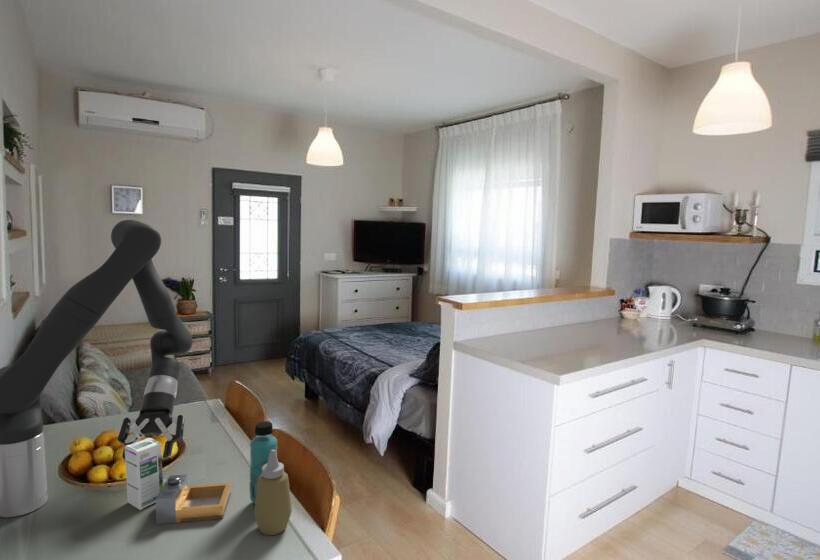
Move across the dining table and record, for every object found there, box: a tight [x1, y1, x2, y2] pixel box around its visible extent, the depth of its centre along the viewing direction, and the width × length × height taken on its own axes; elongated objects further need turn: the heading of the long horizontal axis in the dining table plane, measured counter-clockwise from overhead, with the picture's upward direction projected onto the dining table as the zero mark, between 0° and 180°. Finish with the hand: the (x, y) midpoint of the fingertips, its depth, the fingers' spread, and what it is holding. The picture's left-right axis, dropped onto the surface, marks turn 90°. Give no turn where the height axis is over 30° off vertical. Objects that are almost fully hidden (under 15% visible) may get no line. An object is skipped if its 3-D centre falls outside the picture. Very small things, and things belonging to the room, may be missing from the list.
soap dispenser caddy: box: [155, 473, 232, 525], centre depth 110 cm, size 14×10×7 cm
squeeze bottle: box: [253, 450, 293, 536], centre depth 104 cm, size 8×8×18 cm
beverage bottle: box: [249, 420, 278, 504], centre depth 113 cm, size 6×7×20 cm
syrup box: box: [124, 436, 164, 511], centre depth 112 cm, size 6×6×14 cm
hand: (146, 459), depth 113 cm, fingers open, 8 cm apart
